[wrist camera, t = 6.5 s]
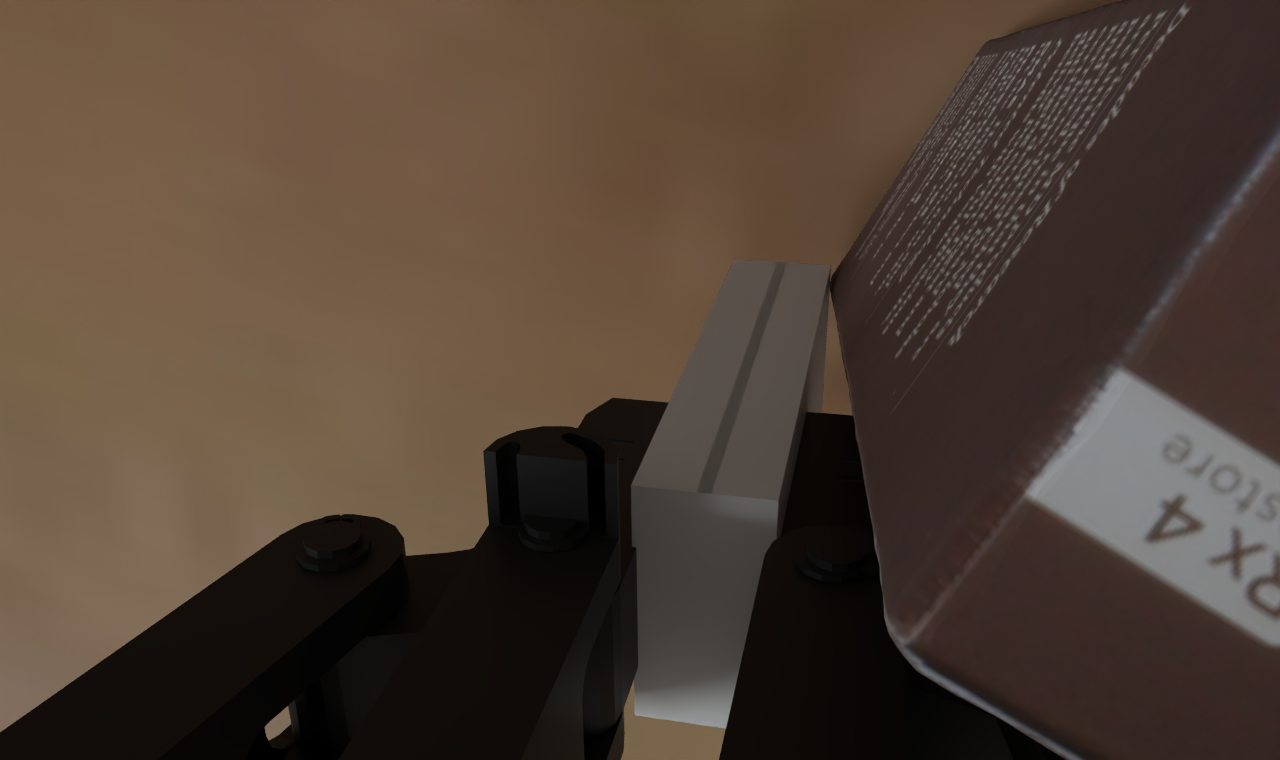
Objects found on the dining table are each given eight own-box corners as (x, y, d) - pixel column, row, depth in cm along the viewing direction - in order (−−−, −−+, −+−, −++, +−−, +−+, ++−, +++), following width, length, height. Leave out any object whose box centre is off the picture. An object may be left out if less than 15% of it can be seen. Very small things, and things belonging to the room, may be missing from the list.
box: (1364, 232, 16) (2828, 666, 4) (1156, 492, 17) (1871, 1349, 6) (990, -1, 16) (1498, -173, 4) (809, 279, 17) (825, 721, 6)
